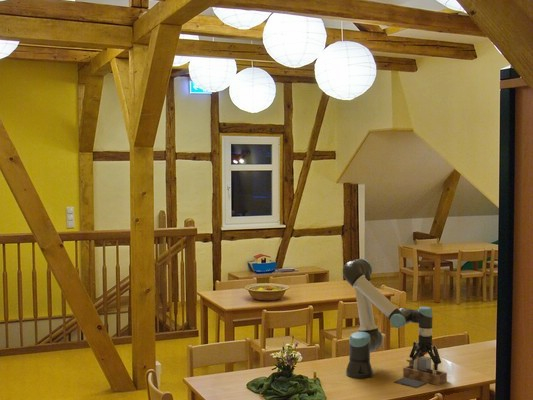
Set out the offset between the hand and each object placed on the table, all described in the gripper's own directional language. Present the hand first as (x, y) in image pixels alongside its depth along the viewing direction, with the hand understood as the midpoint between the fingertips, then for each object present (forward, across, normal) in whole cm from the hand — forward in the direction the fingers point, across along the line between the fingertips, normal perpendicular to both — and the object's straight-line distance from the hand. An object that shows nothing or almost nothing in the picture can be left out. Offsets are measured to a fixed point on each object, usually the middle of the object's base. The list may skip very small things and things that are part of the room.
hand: (424, 373), depth 384 cm
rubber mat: (+3, -2, -12) cm, 13 cm away
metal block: (+3, 0, 0) cm, 3 cm away
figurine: (+3, -12, +11) cm, 17 cm away
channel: (+3, 0, 0) cm, 3 cm away
